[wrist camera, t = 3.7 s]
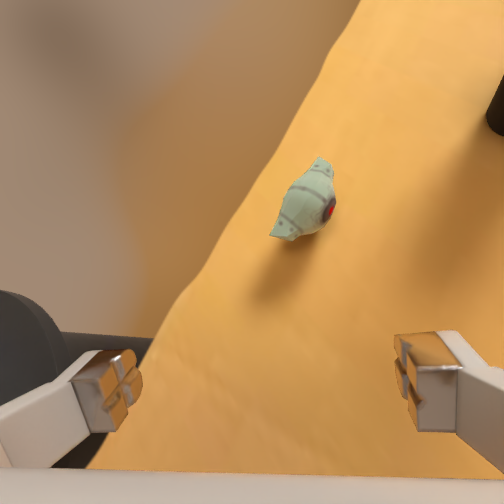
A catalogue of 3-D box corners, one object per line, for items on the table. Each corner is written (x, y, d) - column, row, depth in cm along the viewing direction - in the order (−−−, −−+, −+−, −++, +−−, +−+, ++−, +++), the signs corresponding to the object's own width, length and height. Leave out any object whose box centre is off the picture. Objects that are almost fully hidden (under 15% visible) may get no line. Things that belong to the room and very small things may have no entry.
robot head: (315, 182, 30) (309, 138, 24) (353, 198, 29) (358, 155, 22) (273, 249, 29) (255, 221, 23) (311, 269, 28) (303, 245, 21)
